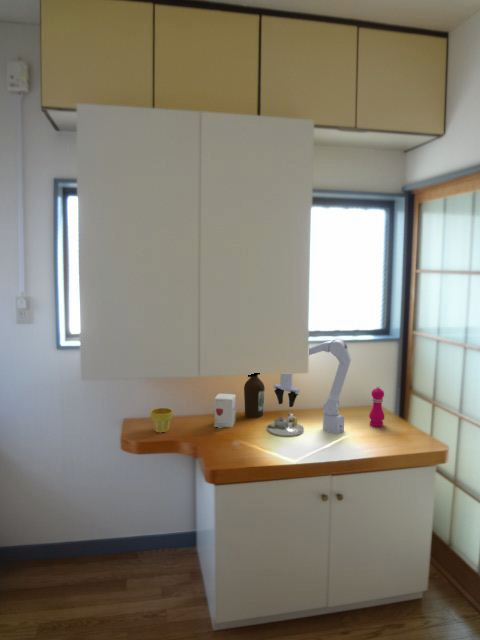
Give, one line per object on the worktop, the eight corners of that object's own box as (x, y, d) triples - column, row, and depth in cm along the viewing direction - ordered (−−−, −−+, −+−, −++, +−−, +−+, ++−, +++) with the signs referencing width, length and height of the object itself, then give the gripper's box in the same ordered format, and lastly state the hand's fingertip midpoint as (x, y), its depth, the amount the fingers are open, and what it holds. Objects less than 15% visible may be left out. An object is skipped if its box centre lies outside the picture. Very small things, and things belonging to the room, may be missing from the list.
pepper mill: (382, 422, 233) (384, 383, 231) (385, 427, 226) (387, 387, 224) (367, 422, 234) (369, 383, 231) (370, 427, 227) (371, 387, 224)
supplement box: (213, 428, 224) (213, 398, 222) (217, 422, 232) (218, 393, 231) (232, 429, 222) (232, 399, 220) (235, 423, 231) (235, 394, 229)
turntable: (310, 430, 219) (311, 421, 218) (288, 439, 207) (288, 430, 206) (282, 421, 231) (282, 412, 230) (259, 430, 219) (260, 420, 218)
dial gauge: (295, 423, 231) (295, 413, 231) (287, 426, 227) (288, 416, 226) (289, 421, 234) (290, 411, 233) (282, 424, 229) (282, 414, 229)
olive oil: (240, 418, 238) (240, 370, 235) (248, 412, 248) (248, 366, 245) (259, 421, 234) (260, 372, 231) (267, 415, 244) (267, 368, 241)
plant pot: (177, 429, 222) (177, 409, 221) (164, 436, 213) (164, 415, 212) (159, 425, 227) (158, 406, 225) (146, 432, 217) (146, 412, 216)
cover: (290, 426, 220) (290, 418, 220) (282, 429, 216) (282, 421, 215) (280, 423, 225) (280, 415, 224) (271, 426, 220) (271, 418, 220)
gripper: (303, 379, 223) (302, 406, 224) (280, 374, 233) (279, 400, 234) (294, 381, 218) (293, 409, 219) (270, 376, 228) (270, 403, 229)
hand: (285, 405), depth 226 cm, fingers open, 6 cm apart
